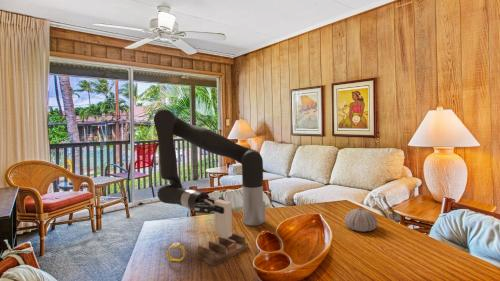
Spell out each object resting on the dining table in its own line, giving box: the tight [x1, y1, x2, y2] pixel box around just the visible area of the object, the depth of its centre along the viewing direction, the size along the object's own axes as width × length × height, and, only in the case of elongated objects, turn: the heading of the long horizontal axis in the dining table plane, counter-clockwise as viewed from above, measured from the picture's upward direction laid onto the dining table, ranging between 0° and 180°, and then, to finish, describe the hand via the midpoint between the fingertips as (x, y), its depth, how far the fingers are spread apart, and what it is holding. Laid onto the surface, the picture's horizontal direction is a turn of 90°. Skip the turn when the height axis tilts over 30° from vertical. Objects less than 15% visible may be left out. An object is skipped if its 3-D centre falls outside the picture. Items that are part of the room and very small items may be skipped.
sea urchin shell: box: [344, 208, 378, 232], centre depth 118 cm, size 13×14×8 cm
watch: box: [166, 241, 186, 263], centre depth 94 cm, size 6×3×6 cm, turn 89°
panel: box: [214, 198, 233, 238], centre depth 98 cm, size 6×2×12 cm, turn 50°
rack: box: [194, 231, 249, 268], centre depth 99 cm, size 10×17×4 cm, turn 140°
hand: (226, 209), depth 96 cm, fingers closed on panel, 2 cm apart
